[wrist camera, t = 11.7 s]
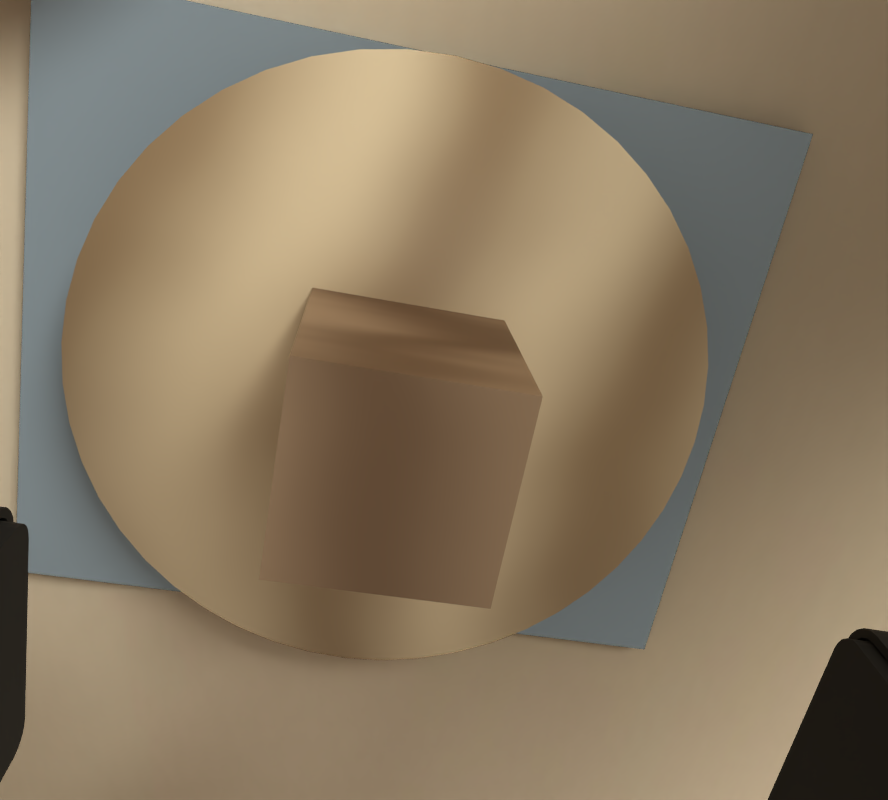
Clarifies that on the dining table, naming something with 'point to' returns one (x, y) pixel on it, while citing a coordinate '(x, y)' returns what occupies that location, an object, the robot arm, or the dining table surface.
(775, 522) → the dining table surface
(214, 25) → the mat
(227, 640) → the dining table surface
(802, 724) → the robot arm
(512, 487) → the lid
